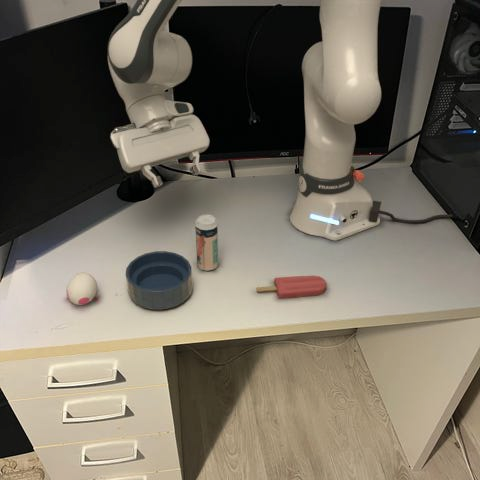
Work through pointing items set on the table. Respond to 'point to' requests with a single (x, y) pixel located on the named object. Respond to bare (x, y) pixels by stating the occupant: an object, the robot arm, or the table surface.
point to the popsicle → (297, 286)
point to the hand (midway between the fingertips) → (178, 180)
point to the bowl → (159, 280)
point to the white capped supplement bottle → (207, 242)
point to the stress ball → (81, 288)
